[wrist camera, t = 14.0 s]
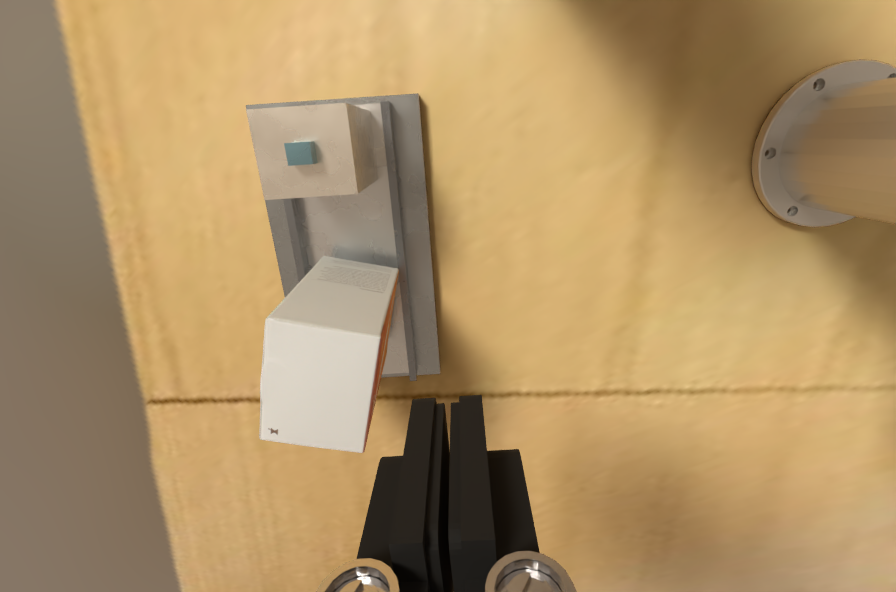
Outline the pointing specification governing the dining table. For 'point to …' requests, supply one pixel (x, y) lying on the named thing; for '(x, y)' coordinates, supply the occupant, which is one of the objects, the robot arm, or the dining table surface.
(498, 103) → the dining table surface
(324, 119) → the rail board
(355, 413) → the small box
